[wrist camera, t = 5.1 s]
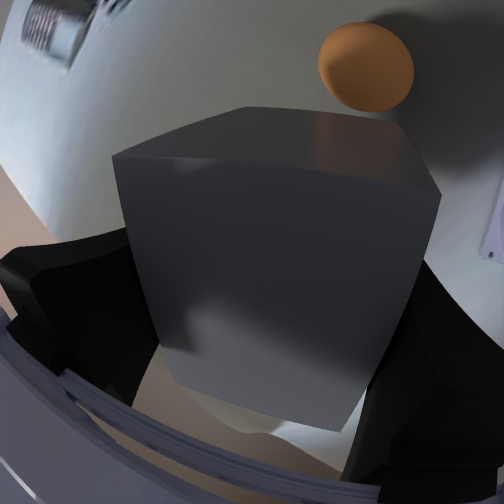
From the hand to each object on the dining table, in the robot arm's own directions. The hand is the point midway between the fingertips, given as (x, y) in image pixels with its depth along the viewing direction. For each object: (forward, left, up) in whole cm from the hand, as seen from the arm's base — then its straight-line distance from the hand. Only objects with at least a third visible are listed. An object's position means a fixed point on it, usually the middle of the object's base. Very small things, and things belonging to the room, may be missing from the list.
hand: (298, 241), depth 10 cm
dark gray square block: (0, 0, -3) cm, 3 cm away
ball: (-2, -6, -8) cm, 10 cm away
